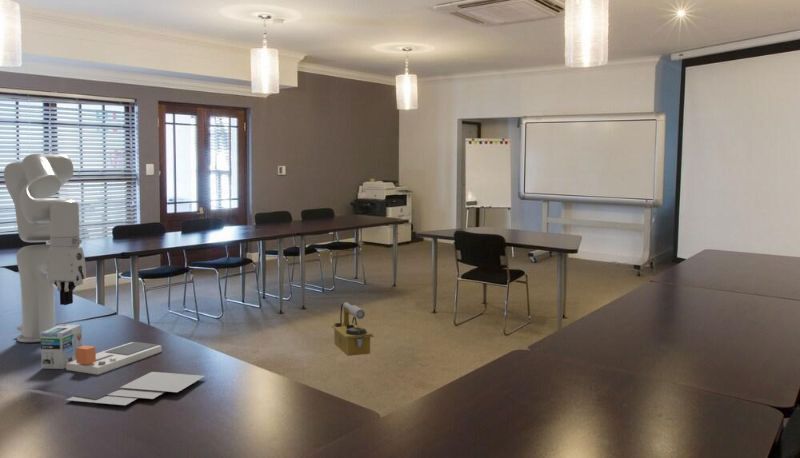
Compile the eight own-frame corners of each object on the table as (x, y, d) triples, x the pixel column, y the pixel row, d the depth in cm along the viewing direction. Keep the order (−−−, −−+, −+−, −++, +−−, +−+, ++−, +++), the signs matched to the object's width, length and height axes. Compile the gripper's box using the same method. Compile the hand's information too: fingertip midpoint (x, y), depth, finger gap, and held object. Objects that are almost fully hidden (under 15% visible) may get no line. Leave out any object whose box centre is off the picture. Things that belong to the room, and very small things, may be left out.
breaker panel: (66, 369, 175) (65, 360, 175) (132, 348, 198) (131, 340, 198) (98, 374, 171) (97, 365, 170) (161, 351, 194) (161, 343, 194)
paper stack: (156, 408, 147) (156, 405, 147) (65, 400, 151) (65, 397, 151) (205, 378, 169) (205, 375, 169) (125, 372, 174) (125, 369, 174)
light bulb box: (63, 369, 175) (62, 332, 174) (40, 369, 175) (39, 332, 175) (83, 358, 186) (82, 324, 185) (61, 358, 186) (60, 323, 185)
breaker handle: (76, 363, 173) (76, 347, 173) (85, 360, 176) (84, 345, 176) (87, 364, 172) (86, 349, 172) (95, 361, 175) (95, 346, 174)
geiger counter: (346, 358, 189) (346, 310, 188) (325, 338, 213) (325, 296, 212) (374, 355, 193) (374, 308, 191) (349, 336, 216) (349, 294, 215)
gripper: (96, 242, 179) (97, 303, 181) (53, 239, 183) (55, 299, 185) (77, 245, 172) (78, 308, 174) (33, 242, 176) (35, 304, 177)
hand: (66, 303), depth 179 cm, fingers closed
